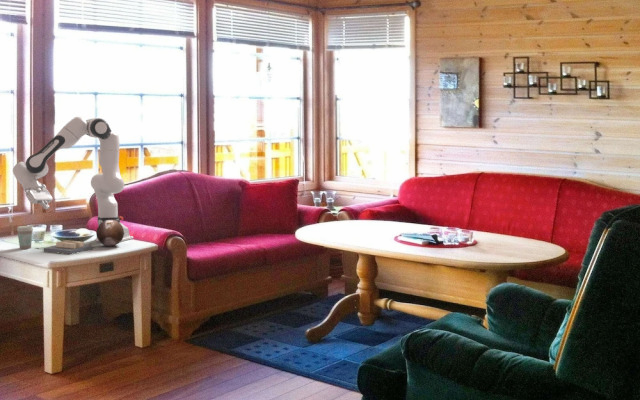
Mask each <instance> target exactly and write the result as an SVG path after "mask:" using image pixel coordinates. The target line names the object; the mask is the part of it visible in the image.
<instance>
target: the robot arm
mask: <svg viewBox="0 0 640 400" xmlns="http://www.w3.org/2000/svg"><path fill="white" fill-rule="evenodd" d="M85 135H87V136H89V137H91V138H97V139H98V141H99V155H98V157H99V158H98V164H99V166H100V167H101V171H102V172H101V173H98V174H95V175H93V176H92V177H91V178H90V179H91V180H90V185H91V188H92V189H93V191H94V194H95V198H96V201H97V212H98V213H97V214H98V215H97V227H98V226H99V225H100V224H101V223H102V222H103V221H105V220H115V221H117V222H119V223H120V224H121V225H122V227H123V229H124V236H123V239H122V240H121V242H120V243H122V242H125V241H128V240H132V239H134V236H132V235H130V231H129V227H127V226H126V225H124V224H123V223H122V222H121V221H124V216H121V215H120V216H119V215H118V214H119V212H118V210H119V209H118V208H119V206H118V201H117V200H116V198H115V194H118V193H119V194H120V193H121V192H122V191H123V190H124V189H125V181H124V179H123V178H122V176H121V170H120V165H119V163H120V138H119V134H118V133H117V132H116V131H112V129H111V127H110V125H109V123H108V122H107V120H106V119H103V118H98V117H94V118H89V119H86V120H85V119H84V118H82V117H81V116H75V117H73V118H72V119H71V120H70V121H67V123H66V124H65V125H64V126H63V127H62V128H61V129H60V130H59V131H58V132H57V134H56V135H54V136H53V138H51V140H49V141H48V142H47V143H46V144H45V145H44V146H43V147H42V148H41V149H40V150H39V151H37V152H36V153H34V154H31V155H29V156H28V157H27V159H26V161H19V162H17V163H16V164H15V165H14V166H13V168H12V173H13V175H14V177H15V179H16V180H17V182H18V183H19V184H20V185H21V187H22V189H23V190H24V193H25V196H26V198H27V200H28V202H29V203H30V204H32V205H34V204H39V205H40V206H41V207H42V208H43V209H44V210H49V209H50V205H49V203H51V202H52V201H53V196H52V195H51V193H50V191H49V190H48V189H47V186H46V184H44V183H41V182H40V181H39V179H42V178H43V177H46V176H47V175H48V173H49V170H50V168H49V165H48V163H47V161H48V160H49V159H50V158H51V157H53V155H54V154H55V153H57V151H59V150H61V149H62V150H63V149H70V148H72V147H74V146H75V145H76V144H77V143H78V142H79V141H80V140H81V138H82V137H84V136H85ZM95 242H99V243H100V241H99V240H98V238H97V237H96V238H95Z"/></svg>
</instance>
